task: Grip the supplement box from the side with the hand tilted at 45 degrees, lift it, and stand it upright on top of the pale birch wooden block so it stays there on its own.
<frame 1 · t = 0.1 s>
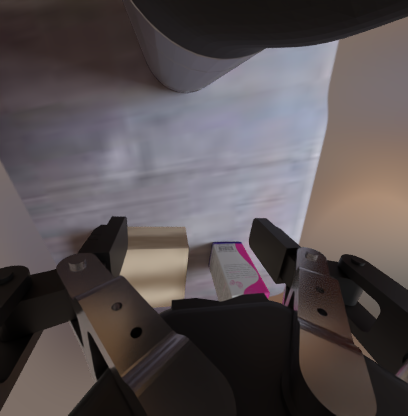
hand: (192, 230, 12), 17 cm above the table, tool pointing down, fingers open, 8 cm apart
birch block: (148, 254, 34), on the table
supplement box: (224, 253, 37), on the table
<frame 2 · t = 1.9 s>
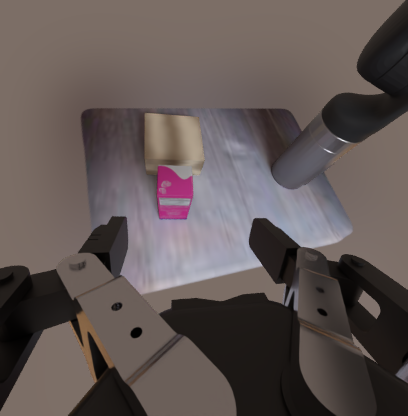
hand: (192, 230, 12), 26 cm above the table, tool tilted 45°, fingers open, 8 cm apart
birch block: (172, 154, 46), on the table
supplement box: (172, 207, 41), on the table
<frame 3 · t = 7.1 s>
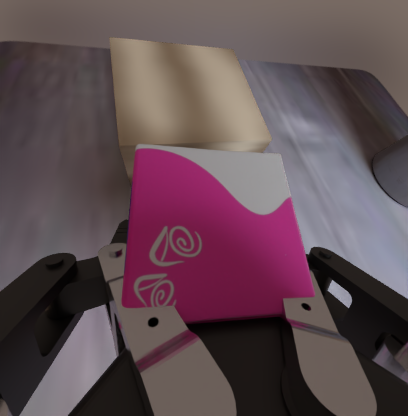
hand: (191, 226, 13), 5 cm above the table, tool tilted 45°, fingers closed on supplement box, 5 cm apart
birch block: (181, 137, 22), on the table
supplement box: (184, 262, 16), on the table, touching gripper
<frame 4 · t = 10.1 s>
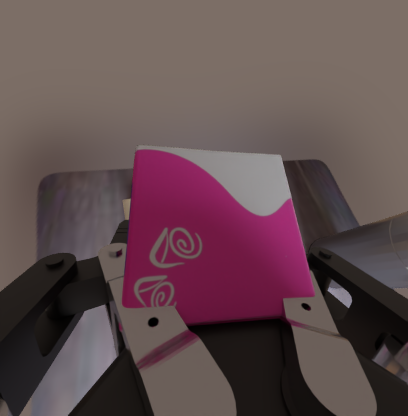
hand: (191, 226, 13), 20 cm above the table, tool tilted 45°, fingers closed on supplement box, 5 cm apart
supplement box: (184, 263, 16), point 15 cm above the table, touching gripper
when the fingers open (12 cm above the table, at t = 13.3 s): supplement box drops 2 cm, resting on birch block.
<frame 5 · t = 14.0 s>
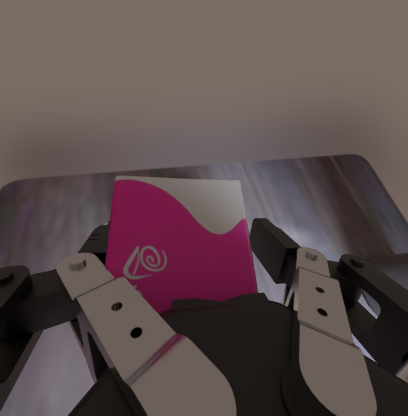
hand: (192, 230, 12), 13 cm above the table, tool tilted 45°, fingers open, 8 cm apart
supplement box: (169, 267, 18), point 5 cm above the table, touching birch block
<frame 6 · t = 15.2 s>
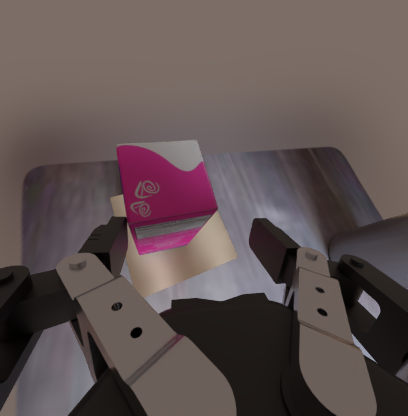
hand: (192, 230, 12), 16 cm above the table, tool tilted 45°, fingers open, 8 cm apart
birch block: (172, 239, 28), on the table, touching supplement box
supplement box: (159, 227, 22), point 6 cm above the table, touching birch block
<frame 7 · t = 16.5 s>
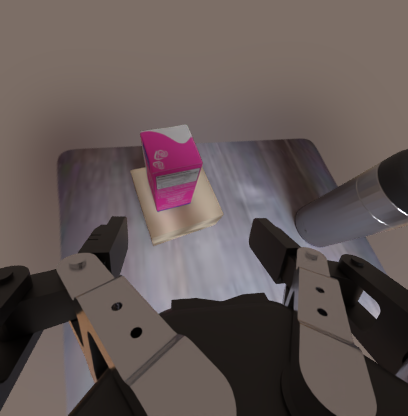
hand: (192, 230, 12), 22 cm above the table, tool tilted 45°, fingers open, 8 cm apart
birch block: (174, 206, 37), on the table, touching supplement box
supplement box: (168, 193, 31), point 5 cm above the table, touching birch block
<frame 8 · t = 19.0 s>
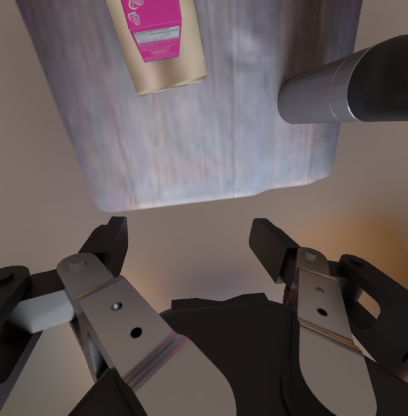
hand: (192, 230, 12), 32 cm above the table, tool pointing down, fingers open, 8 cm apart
birch block: (161, 51, 34), on the table, touching supplement box
supplement box: (156, 38, 29), point 5 cm above the table, touching birch block
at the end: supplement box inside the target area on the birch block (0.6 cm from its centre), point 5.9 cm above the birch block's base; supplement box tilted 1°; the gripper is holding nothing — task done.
